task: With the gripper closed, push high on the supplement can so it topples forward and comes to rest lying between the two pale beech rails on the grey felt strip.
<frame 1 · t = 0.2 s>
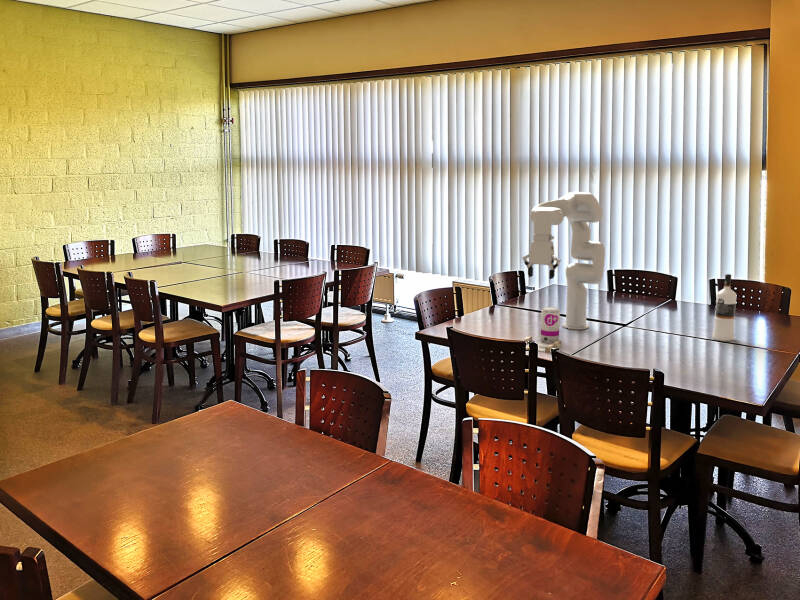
hand: (540, 277, 317), 31 cm above the table, fingers open, 9 cm apart
supplement can: (549, 341, 333), on the table
vodka: (722, 339, 333), on the table
rail cradle: (538, 346, 323), on the table
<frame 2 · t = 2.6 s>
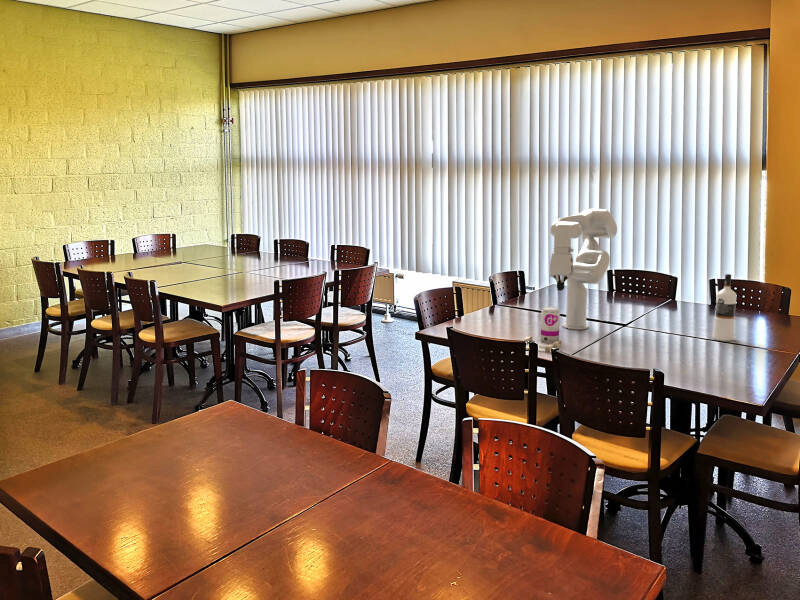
hand: (560, 290, 337), 22 cm above the table, fingers closed
nothing on the table moved.
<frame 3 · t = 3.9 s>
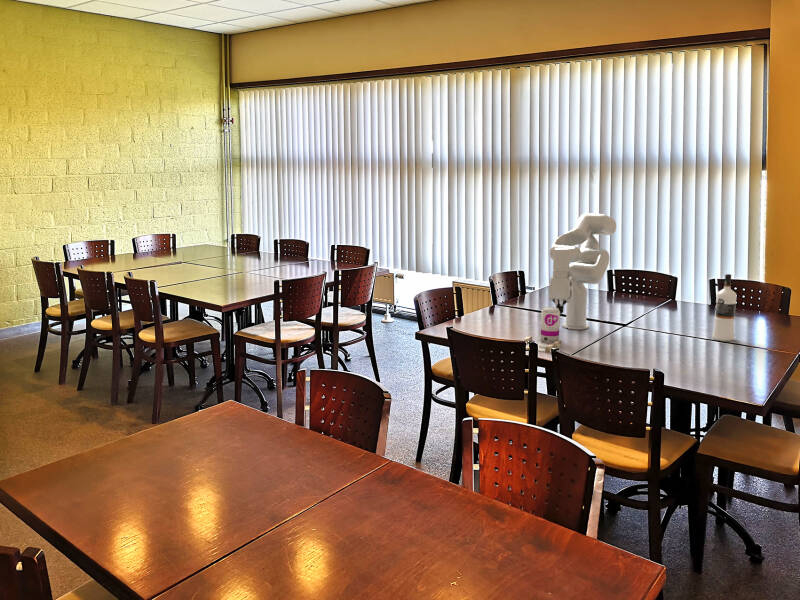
hand: (559, 313, 339), 11 cm above the table, fingers closed
nothing on the table moved.
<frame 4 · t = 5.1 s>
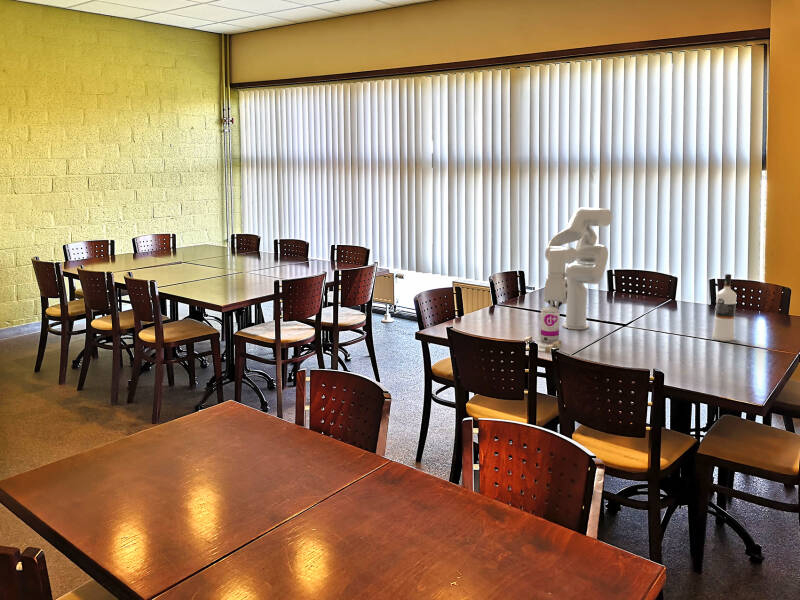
hand: (554, 315, 335), 11 cm above the table, fingers closed
supplement can: (549, 340, 333), on the table, touching gripper
everything else where it was.
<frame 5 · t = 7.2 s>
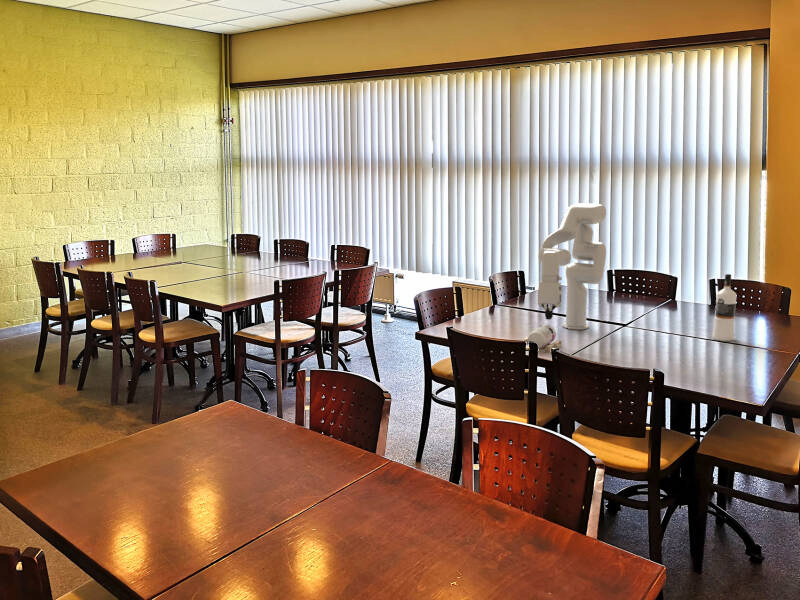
hand: (548, 318, 329), 11 cm above the table, fingers closed
supplement can: (547, 333, 329), point 4 cm above the table, touching rail cradle
everything else where it was.
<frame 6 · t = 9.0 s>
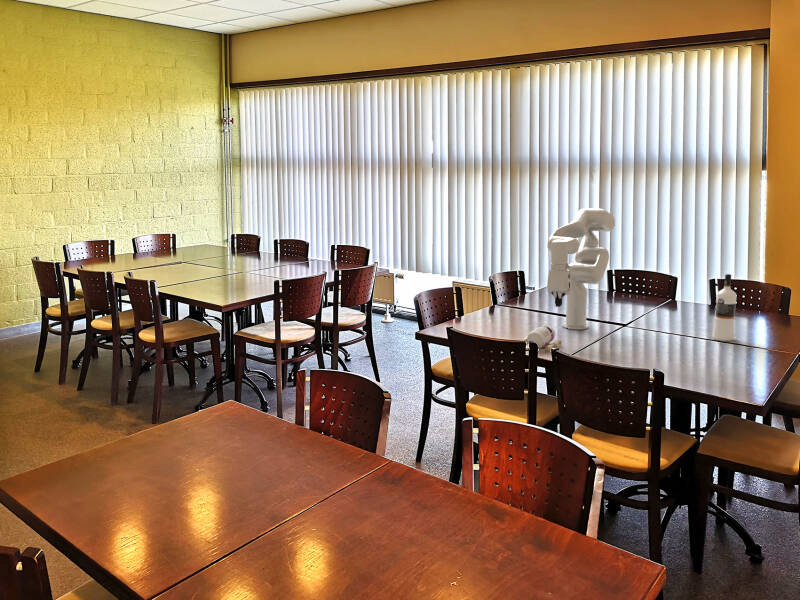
hand: (558, 306, 337), 15 cm above the table, fingers closed
nothing on the table moved.
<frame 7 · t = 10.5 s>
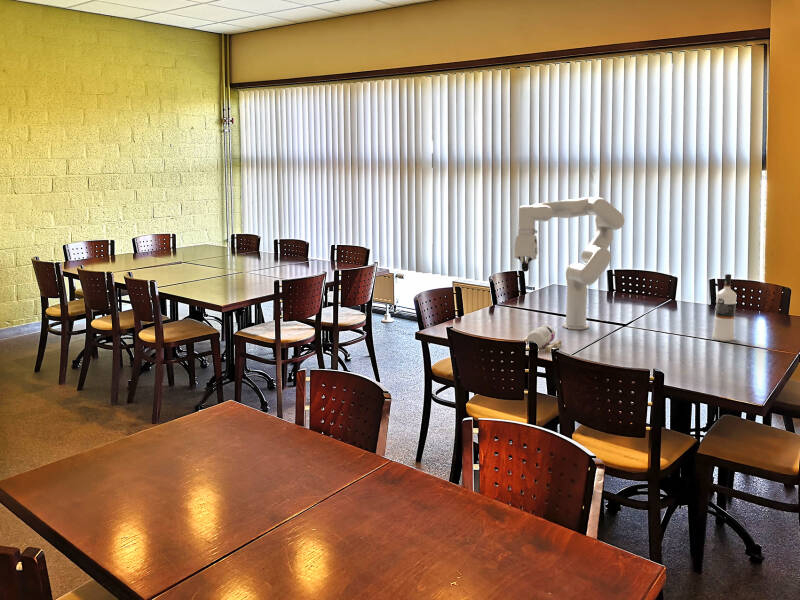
hand: (525, 271, 345), 29 cm above the table, fingers closed
nothing on the table moved.
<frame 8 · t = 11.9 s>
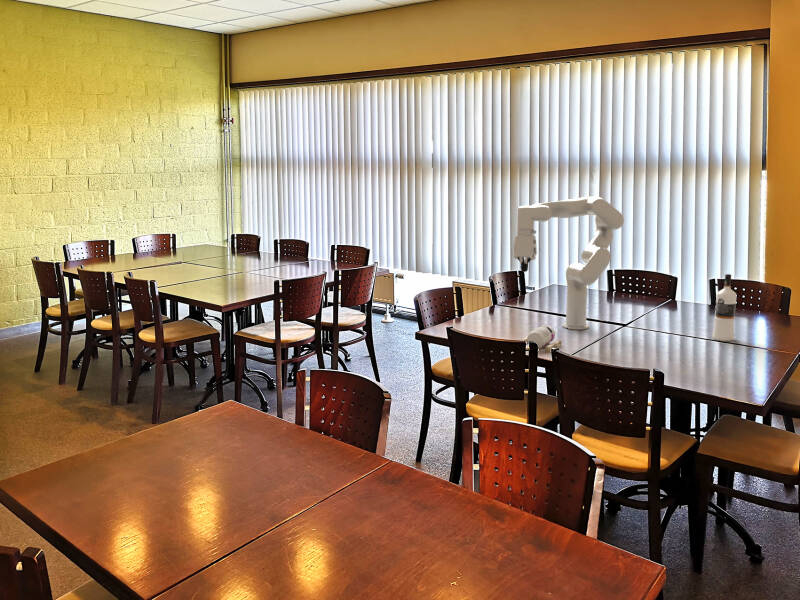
hand: (524, 271, 345), 29 cm above the table, fingers closed
nothing on the table moved.
at the end: supplement can tilted 90°; supplement can inside the target area (5.2 cm from its centre), point 4.4 cm above the table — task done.
